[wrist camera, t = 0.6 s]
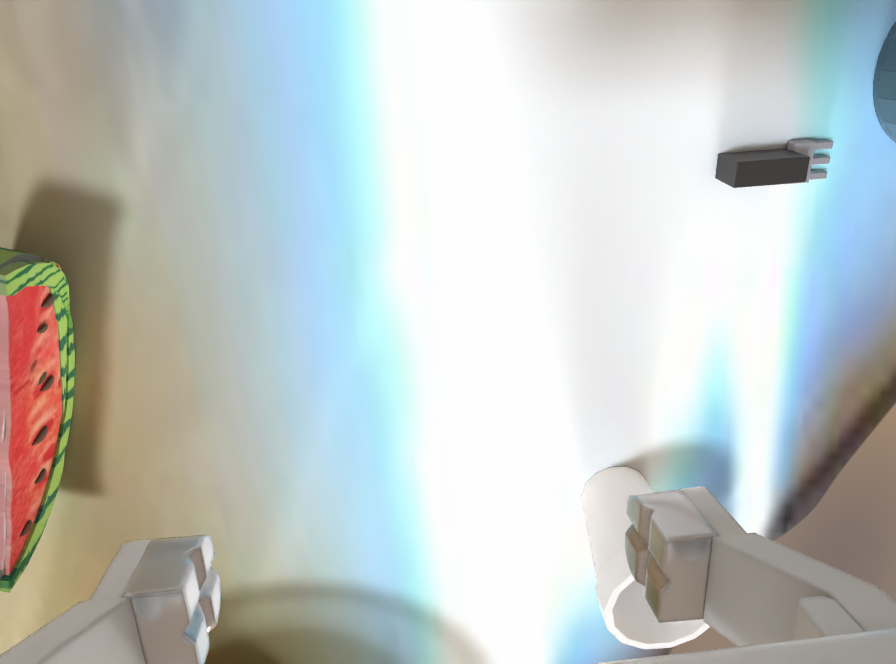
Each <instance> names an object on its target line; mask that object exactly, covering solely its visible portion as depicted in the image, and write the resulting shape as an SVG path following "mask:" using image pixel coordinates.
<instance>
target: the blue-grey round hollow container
mask: <svg viewBox="0 0 896 664" xmlns="http://www.w3.org/2000/svg"><path fill="white" fill-rule="evenodd" d="M873 98H874V106H875V110H876V115H877V117H878V120H879V122H880V124H881V126H882V128H883V129H884V131H885V132H886V134H887V135H888V136H889V137H890V138H891V139H892V140H893V141H894V142H895V143H896V22H895V24H894V26H893V27H892V29H891V30H890V32H889V34H888V36H887V38H886V40H885V42H884V44H883V47H882V49H881V52H880V55H879V58H878V61H877V65H876V69H875V75H874V81H873Z"/></svg>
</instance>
